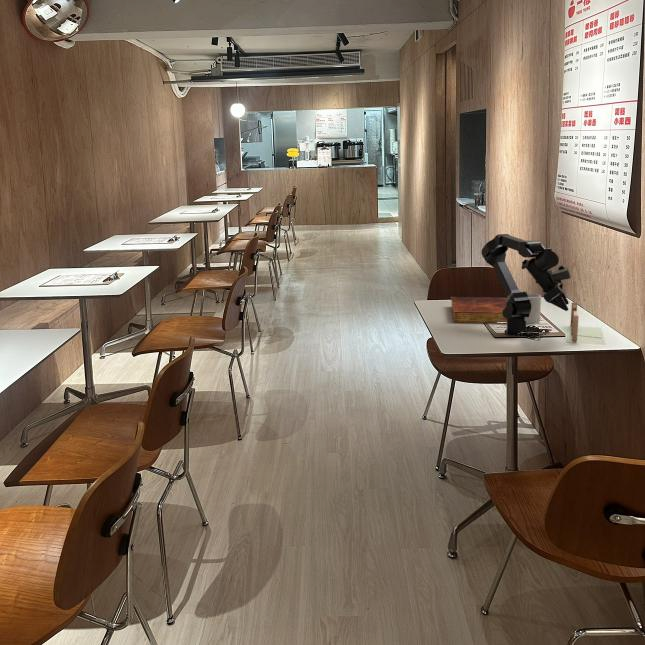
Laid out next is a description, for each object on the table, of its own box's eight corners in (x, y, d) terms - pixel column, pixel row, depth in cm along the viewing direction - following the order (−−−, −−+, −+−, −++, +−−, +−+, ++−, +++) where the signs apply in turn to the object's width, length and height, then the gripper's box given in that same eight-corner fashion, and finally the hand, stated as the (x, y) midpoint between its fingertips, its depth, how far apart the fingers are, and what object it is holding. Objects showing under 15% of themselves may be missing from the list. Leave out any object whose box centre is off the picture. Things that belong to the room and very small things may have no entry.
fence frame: (571, 335, 299) (572, 310, 297) (570, 325, 313) (571, 301, 311) (576, 335, 298) (578, 310, 296) (575, 326, 313) (577, 302, 311)
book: (514, 325, 319) (515, 312, 318) (453, 324, 322) (453, 311, 321) (506, 309, 348) (507, 297, 347) (450, 308, 350) (450, 297, 349)
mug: (540, 325, 316) (541, 297, 314) (517, 324, 318) (519, 296, 316) (539, 318, 328) (540, 291, 325) (518, 317, 330) (519, 291, 327)
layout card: (565, 342, 290) (565, 341, 290) (564, 326, 314) (564, 325, 313) (605, 345, 287) (605, 344, 286) (601, 328, 310) (601, 327, 310)
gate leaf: (571, 341, 289) (573, 316, 287) (571, 334, 298) (572, 310, 296) (577, 341, 289) (578, 316, 287) (576, 335, 298) (578, 310, 296)
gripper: (558, 265, 277) (586, 300, 277) (559, 254, 294) (586, 287, 295) (532, 284, 281) (559, 318, 282) (534, 273, 299) (560, 305, 299)
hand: (567, 307), depth 289 cm, fingers open, 9 cm apart
